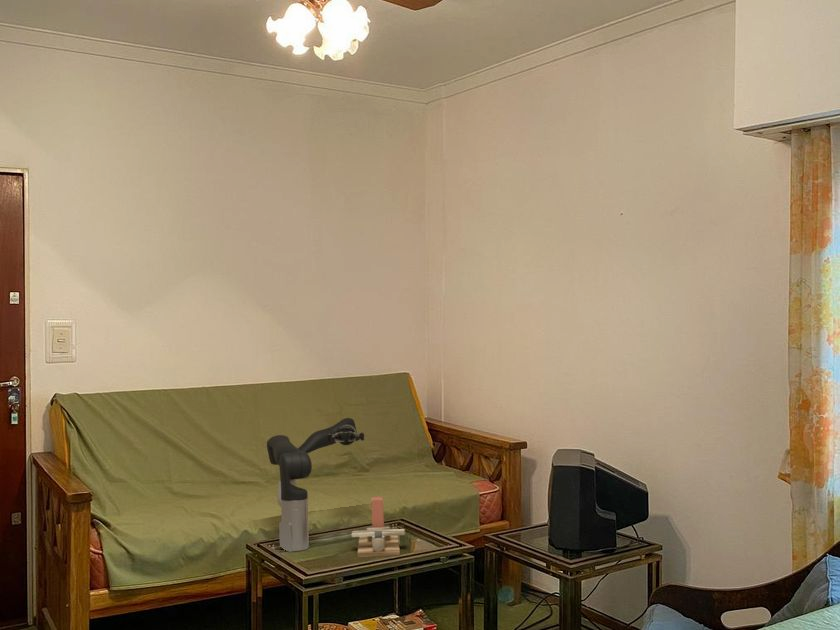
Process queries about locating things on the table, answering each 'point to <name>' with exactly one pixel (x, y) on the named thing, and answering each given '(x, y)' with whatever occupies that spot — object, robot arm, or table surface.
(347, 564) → the table surface
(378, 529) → the jig
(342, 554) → the table surface
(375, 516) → the terracotta rectangular block
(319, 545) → the table surface
